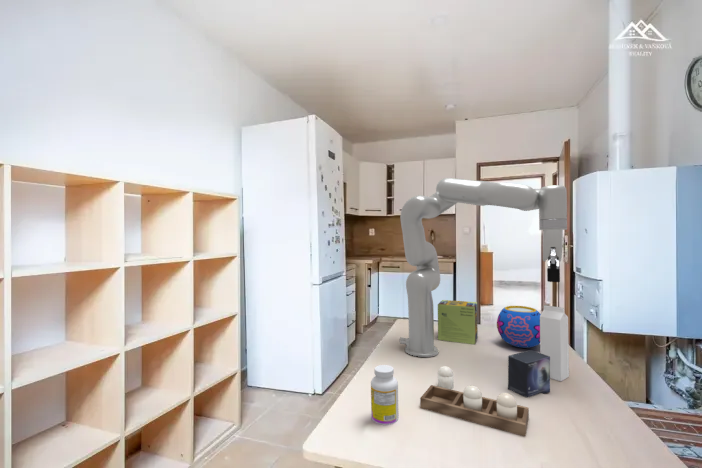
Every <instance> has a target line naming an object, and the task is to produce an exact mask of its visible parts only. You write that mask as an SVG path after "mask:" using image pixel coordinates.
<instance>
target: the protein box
mask: <svg viewBox="0 0 702 468" xmlns="http://www.w3.org/2000/svg"><path fill="white" fill-rule="evenodd" d="M478 327H479V326H478V302H477V301H464V300H463V301H462V300H448V299H442V300H441V301H440V302H439V303H438V304H437V340H438V341H443V340H444V342H453V343H461V344H468V345H476V343H477V341H478V337H479V336H478V335H479V334H478V332H479V331H478Z"/></svg>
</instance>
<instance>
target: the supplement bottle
mask: <svg viewBox="0 0 702 468" xmlns="http://www.w3.org/2000/svg"><path fill="white" fill-rule="evenodd" d="M394 374H395V373H394V367H393V366H391V365H387V364H379V365H377V366H375V367H374V376H373V377H372V378H371V381H370V403H371V411H370V412H371V414H370V415H371V421H373V423H374V422H375V423H376V424H378V425H383V426H389V425H393V424H396V423H397V422H398V421H399V384H398V380H397V378H396V377H395V376H394Z"/></svg>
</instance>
